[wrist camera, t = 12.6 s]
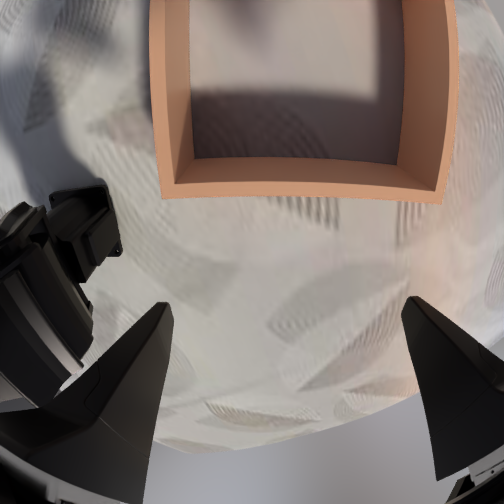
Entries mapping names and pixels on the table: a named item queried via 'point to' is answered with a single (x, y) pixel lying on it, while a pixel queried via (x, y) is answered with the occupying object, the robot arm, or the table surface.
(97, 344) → the table surface
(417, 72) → the terracotta box
